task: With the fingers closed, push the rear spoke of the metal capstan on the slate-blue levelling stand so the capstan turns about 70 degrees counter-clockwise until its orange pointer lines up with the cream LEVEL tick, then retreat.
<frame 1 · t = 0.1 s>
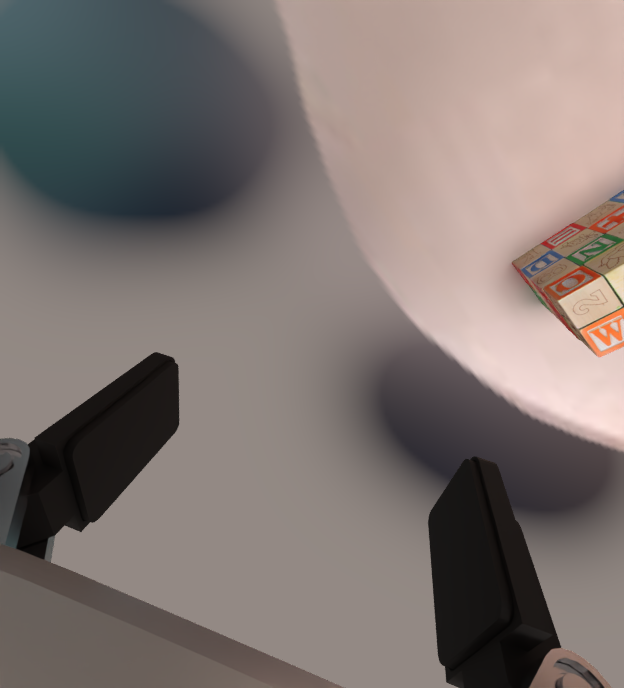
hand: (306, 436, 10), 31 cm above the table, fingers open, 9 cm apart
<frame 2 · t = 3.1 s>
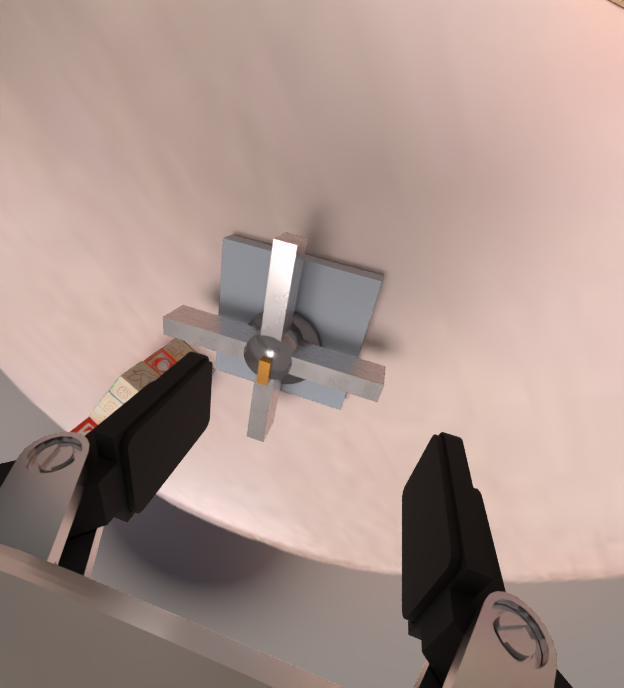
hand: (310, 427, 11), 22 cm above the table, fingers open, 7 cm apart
stack of blocks: (159, 392, 45), on the table
capstan: (276, 346, 30), point 5 cm above the table, hinge at 0.0°
stand: (292, 323, 34), on the table
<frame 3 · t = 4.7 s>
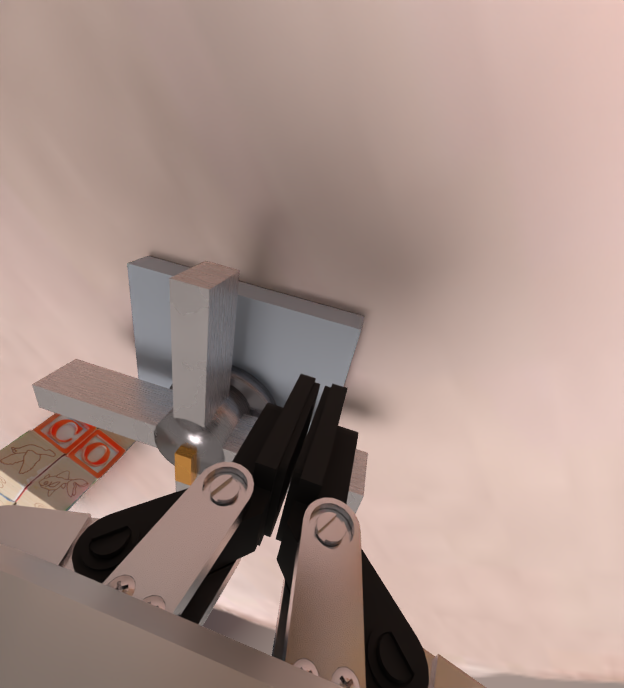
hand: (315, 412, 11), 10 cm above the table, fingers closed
stack of blocks: (86, 447, 35), on the table
capstan: (208, 422, 20), point 5 cm above the table, hinge at 0.0°
stand: (242, 375, 25), on the table
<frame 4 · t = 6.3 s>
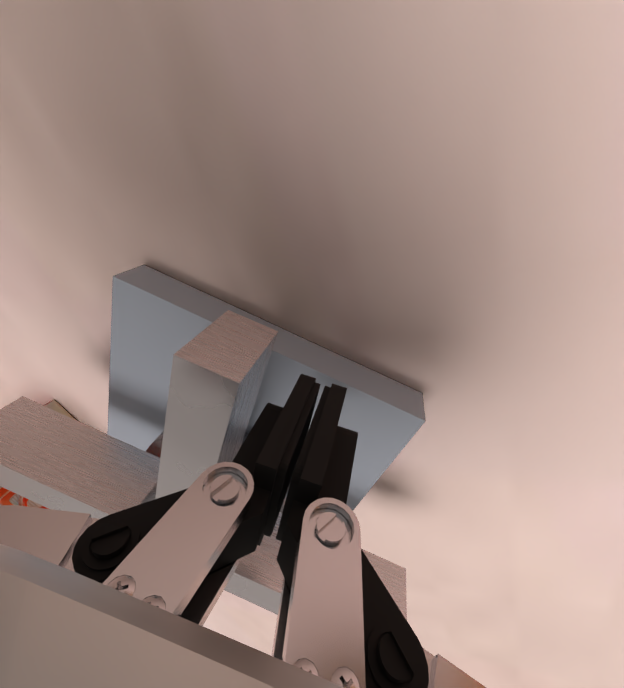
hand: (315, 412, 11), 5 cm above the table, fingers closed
stack of blocks: (30, 461, 28), on the table
capstan: (198, 505, 15), point 5 cm above the table, hinge at 1.9°, touching gripper
stand: (244, 427, 20), on the table
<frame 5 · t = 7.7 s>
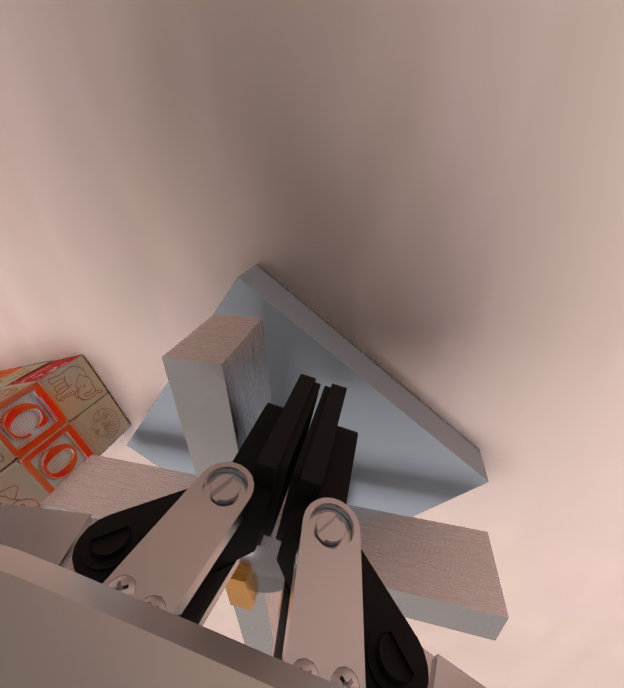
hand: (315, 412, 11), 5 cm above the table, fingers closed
stack of blocks: (17, 403, 26), on the table
capstan: (259, 514, 15), point 5 cm above the table, hinge at 39.3°, touching gripper
stand: (290, 435, 20), on the table
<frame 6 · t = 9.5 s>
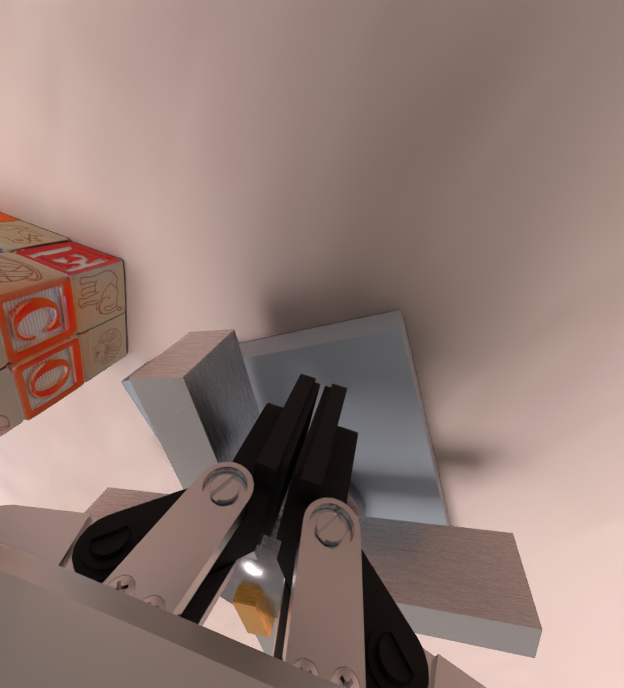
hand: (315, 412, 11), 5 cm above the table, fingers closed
capstan: (269, 534, 15), point 5 cm above the table, hinge at 81.5°
stand: (300, 449, 19), on the table
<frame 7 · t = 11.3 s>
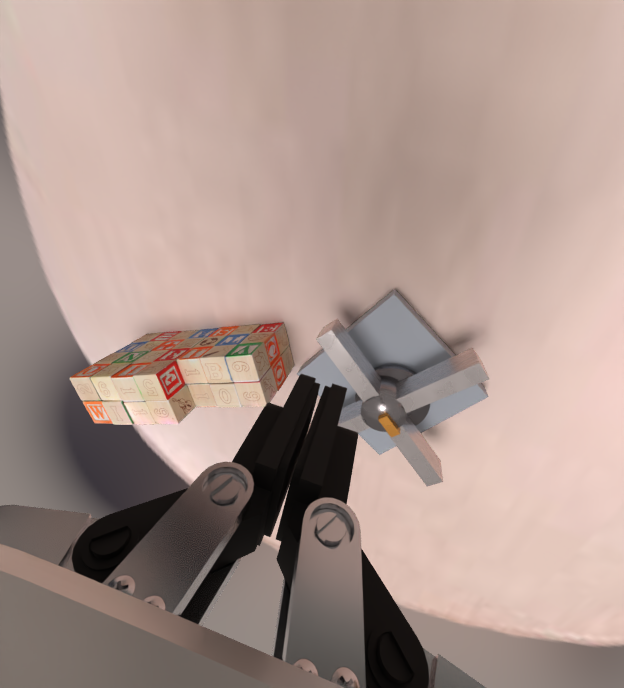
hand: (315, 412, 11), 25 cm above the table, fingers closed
stack of blocks: (217, 348, 44), on the table
capstan: (384, 401, 34), point 5 cm above the table, hinge at 81.5°
stand: (386, 375, 38), on the table
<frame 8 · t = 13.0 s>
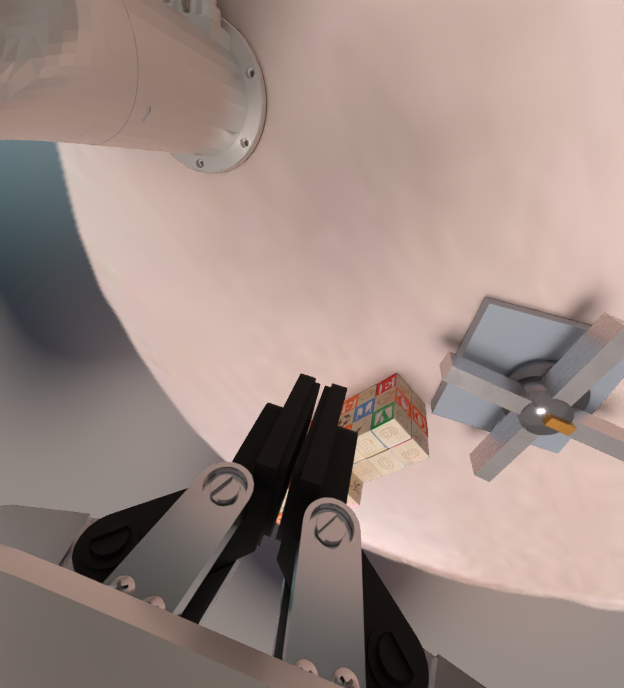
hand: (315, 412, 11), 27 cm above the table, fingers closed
stack of blocks: (348, 420, 46), on the table
capstan: (537, 403, 32), point 5 cm above the table, hinge at 81.5°
stand: (520, 374, 37), on the table
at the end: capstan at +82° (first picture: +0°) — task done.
